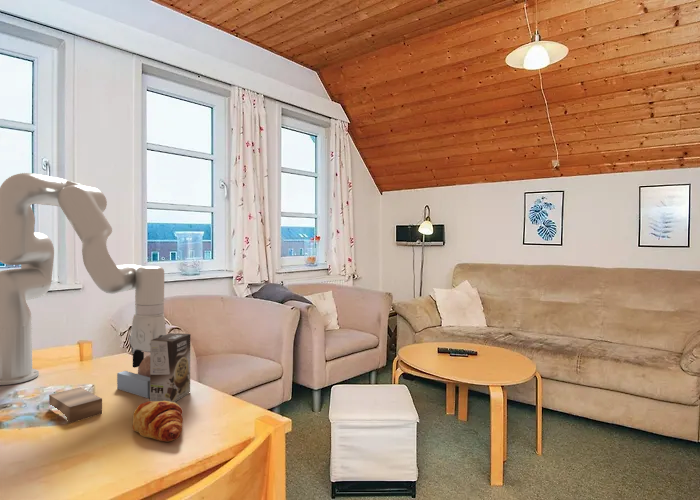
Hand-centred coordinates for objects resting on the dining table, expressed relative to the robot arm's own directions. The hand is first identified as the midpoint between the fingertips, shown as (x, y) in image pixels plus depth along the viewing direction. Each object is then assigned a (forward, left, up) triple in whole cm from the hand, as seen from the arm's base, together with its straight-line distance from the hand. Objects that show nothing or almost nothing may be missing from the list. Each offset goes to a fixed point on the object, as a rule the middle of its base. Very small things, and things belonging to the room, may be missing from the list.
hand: (148, 369), depth 131 cm
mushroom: (+1, 0, -4) cm, 4 cm away
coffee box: (+14, -4, -4) cm, 15 cm away
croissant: (+28, -18, -4) cm, 33 cm away
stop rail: (+3, -6, -4) cm, 8 cm away
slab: (+3, -22, -4) cm, 23 cm away
